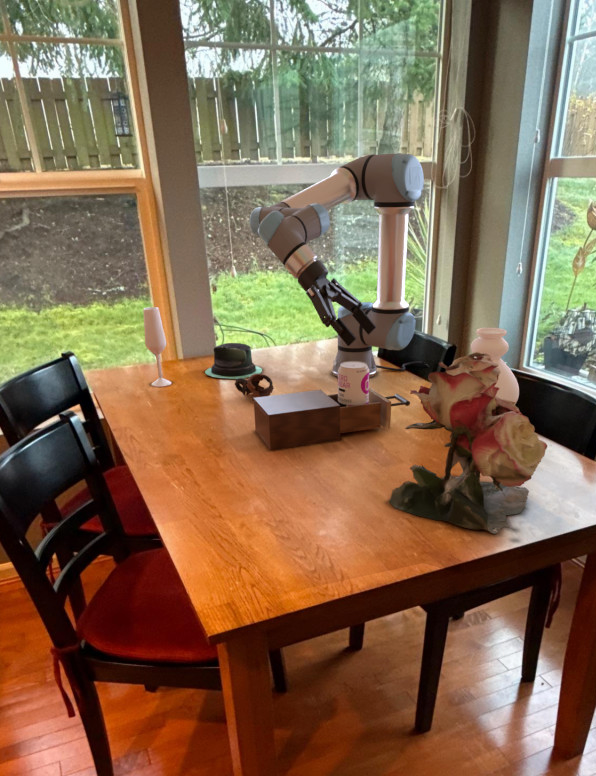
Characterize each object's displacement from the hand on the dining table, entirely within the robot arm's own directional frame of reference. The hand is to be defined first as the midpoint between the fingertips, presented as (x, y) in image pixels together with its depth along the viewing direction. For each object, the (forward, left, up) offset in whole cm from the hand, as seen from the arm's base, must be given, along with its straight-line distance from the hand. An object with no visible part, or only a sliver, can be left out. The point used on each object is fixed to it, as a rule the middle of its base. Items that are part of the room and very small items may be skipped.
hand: (362, 336), depth 158 cm
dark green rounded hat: (+19, -70, -25) cm, 76 cm away
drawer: (-1, -2, -23) cm, 24 cm away
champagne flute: (+45, -65, -25) cm, 82 cm away
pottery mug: (+20, -38, -25) cm, 49 cm away
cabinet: (+18, -2, -24) cm, 30 cm away
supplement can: (+2, -2, -22) cm, 23 cm away
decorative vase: (-31, +9, -25) cm, 41 cm away
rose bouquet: (-4, +47, -25) cm, 54 cm away
